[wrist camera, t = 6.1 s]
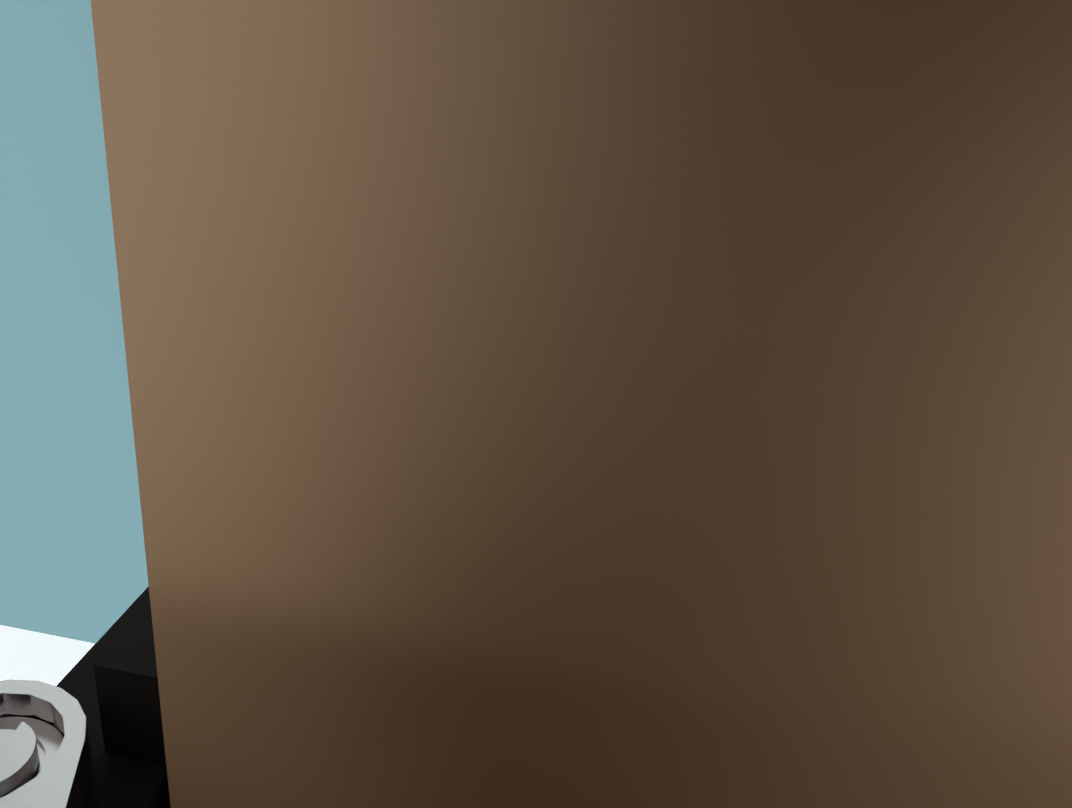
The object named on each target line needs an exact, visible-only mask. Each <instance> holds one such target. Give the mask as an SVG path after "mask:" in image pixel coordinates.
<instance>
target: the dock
mask: <svg viewBox="0 0 1072 808" xmlns="http://www.w3.org/2000/svg"><path fill="white" fill-rule="evenodd" d="M148 586H149V585H148V575H147V564H146V554H145V544H144V534H143V524H142V514H141V504H140V494H139V484H138V474H137V463H136V453H135V443H134V433H133V423H132V413H131V403H130V393H129V383H128V373H127V363H126V352H125V342H124V332H123V322H122V312H121V302H120V292H119V282H118V272H117V262H116V252H115V241H114V231H113V221H112V211H111V201H110V191H109V181H108V171H107V161H106V151H105V141H104V130H103V120H102V110H101V100H100V90H99V80H98V70H97V60H96V50H95V40H94V30H93V19H92V9H91V0H0V625H5V626H10V627H15V628H20V629H26V630H31V631H36V632H41V633H46V634H51V635H56V636H61V637H66V638H71V639H76V640H82V641H87V642H92V643H97V642H98V641H99V639H100V638H101V637H102V636H103V635H104V634H105V633H106V632H107V631H108V630H109V629H110V627H111V626H112V625H113V624H114V623H115V622H116V621H117V620H118V619H119V618H120V617H121V615H122V614H123V613H124V612H125V611H126V610H127V609H128V608H129V607H130V606H131V605H132V604H133V602H134V601H135V600H136V599H137V598H138V597H139V596H140V595H141V594H142V593H143V592H144V590H145V589H146V588H147V587H148Z"/></svg>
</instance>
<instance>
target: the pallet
mask: <svg viewBox="0 0 1072 808" xmlns="http://www.w3.org/2000/svg"><path fill="white" fill-rule="evenodd" d="M91 9H92V19H93V30H94V40H95V50H96V60H97V70H98V80H99V90H100V100H101V110H102V120H103V130H104V141H105V151H106V161H107V171H108V181H109V191H110V201H111V211H112V221H113V231H114V241H115V252H116V262H117V272H118V282H119V292H120V302H121V312H122V322H123V332H124V342H125V352H126V363H127V373H128V383H129V393H130V403H131V413H132V423H133V433H134V443H135V453H136V463H137V474H138V484H139V494H140V504H141V514H142V524H143V534H144V544H145V554H146V564H147V575H148V585H149V595H150V605H151V615H152V625H153V635H154V645H155V655H156V665H157V675H158V686H159V696H160V706H161V716H162V726H163V736H164V746H165V756H166V766H167V776H168V786H169V797H170V807H171V808H1072V0H91Z"/></svg>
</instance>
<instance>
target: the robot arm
mask: <svg viewBox="0 0 1072 808" xmlns="http://www.w3.org/2000/svg"><path fill="white" fill-rule="evenodd" d="M0 808H171V807H170V797H169V786H168V776H167V766H166V756H165V746H164V736H163V726H162V716H161V706H160V696H159V686H158V675H157V665H156V655H155V645H154V635H153V625H152V615H151V605H150V595H149V586H148V587H147V588H146V589H145V590H144V592H143V593H142V594H141V595H140V596H139V597H138V598H137V599H136V600H135V601H134V602H133V604H132V605H131V606H130V607H129V608H128V609H127V610H126V611H125V612H124V613H123V614H122V615H121V617H120V618H119V619H118V620H117V621H116V622H115V623H114V624H113V625H112V626H111V627H110V629H109V630H108V631H107V632H106V633H105V634H104V635H103V636H102V637H101V638H100V639H99V641H98V642H97V643H96V644H95V645H94V646H93V647H92V648H91V649H90V650H89V651H88V652H87V654H86V655H85V656H84V657H83V658H82V659H81V660H80V661H79V662H78V663H77V664H76V666H75V667H74V668H73V669H72V670H71V671H70V672H69V673H68V674H67V675H66V676H65V677H64V679H63V680H62V681H61V682H60V683H59V684H58V685H57V686H53V685H50V684H46V683H43V682H39V681H27V680H5V681H0Z"/></svg>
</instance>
